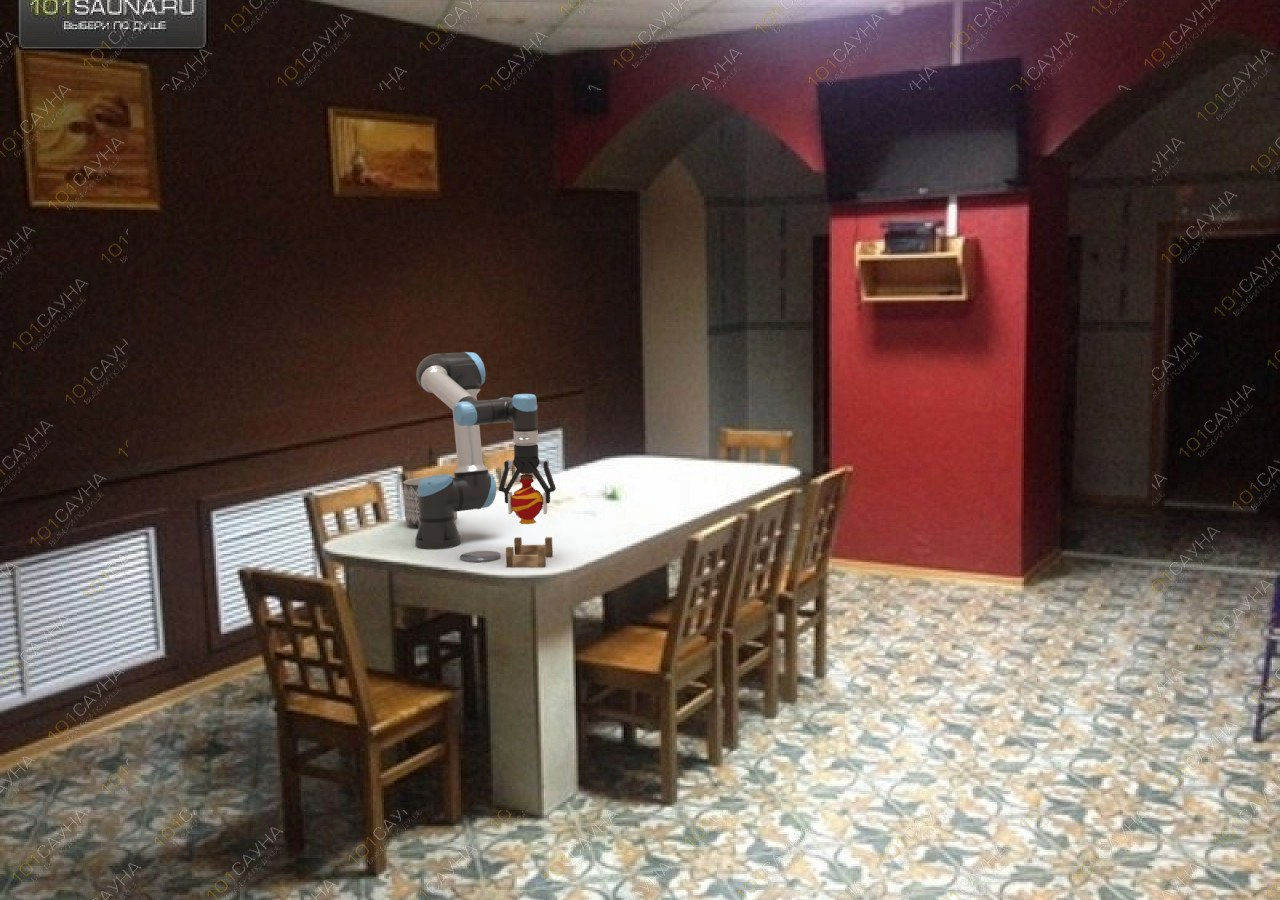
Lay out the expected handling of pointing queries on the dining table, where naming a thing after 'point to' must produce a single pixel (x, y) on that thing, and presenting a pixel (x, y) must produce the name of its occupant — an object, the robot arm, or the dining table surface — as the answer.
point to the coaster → (480, 556)
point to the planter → (413, 501)
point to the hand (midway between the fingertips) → (527, 513)
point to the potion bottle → (527, 501)
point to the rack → (528, 554)
